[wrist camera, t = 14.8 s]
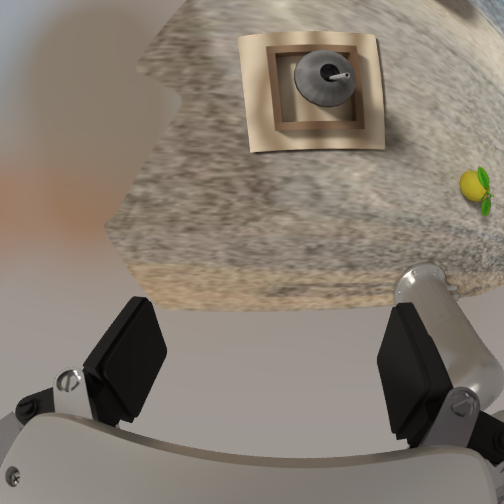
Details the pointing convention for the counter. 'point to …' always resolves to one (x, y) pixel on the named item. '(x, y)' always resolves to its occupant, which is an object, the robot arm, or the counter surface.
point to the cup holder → (297, 107)
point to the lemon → (477, 188)
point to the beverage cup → (325, 78)
